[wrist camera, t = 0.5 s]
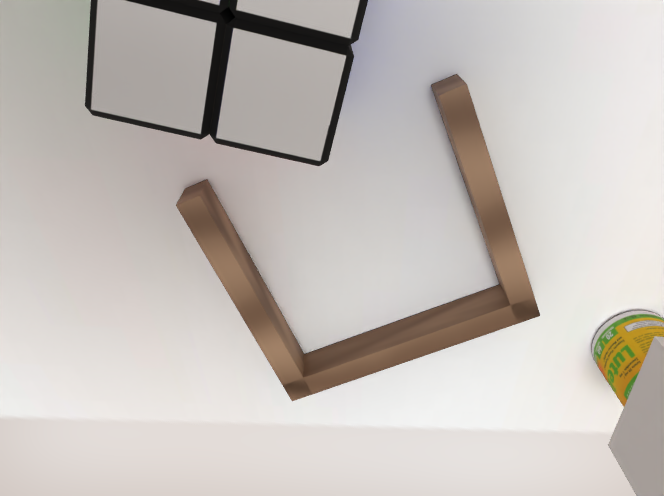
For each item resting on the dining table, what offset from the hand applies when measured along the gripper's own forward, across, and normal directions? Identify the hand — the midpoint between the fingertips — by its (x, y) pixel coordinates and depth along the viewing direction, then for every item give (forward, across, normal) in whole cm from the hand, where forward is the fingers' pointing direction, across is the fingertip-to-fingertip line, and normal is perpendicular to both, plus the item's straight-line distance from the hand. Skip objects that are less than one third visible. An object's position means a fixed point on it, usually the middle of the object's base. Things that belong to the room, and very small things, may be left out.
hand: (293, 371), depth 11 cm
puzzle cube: (+25, -3, +4) cm, 26 cm away
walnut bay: (+25, +4, -9) cm, 27 cm away
